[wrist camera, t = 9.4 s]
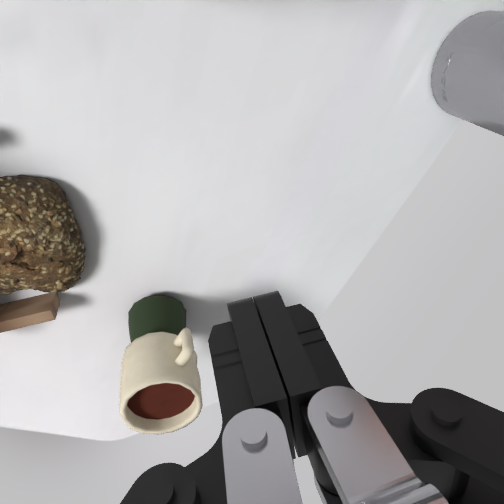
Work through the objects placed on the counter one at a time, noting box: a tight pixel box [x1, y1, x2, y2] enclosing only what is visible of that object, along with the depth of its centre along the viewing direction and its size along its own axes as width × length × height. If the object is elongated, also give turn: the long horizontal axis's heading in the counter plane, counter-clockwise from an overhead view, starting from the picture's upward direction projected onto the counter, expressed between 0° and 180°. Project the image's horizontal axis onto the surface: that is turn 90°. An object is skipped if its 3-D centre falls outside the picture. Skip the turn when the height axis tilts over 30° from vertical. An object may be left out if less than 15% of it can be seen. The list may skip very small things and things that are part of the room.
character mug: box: [119, 295, 202, 434], centre depth 42 cm, size 11×7×13 cm, turn 145°
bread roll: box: [0, 175, 85, 294], centre depth 37 cm, size 13×12×5 cm
